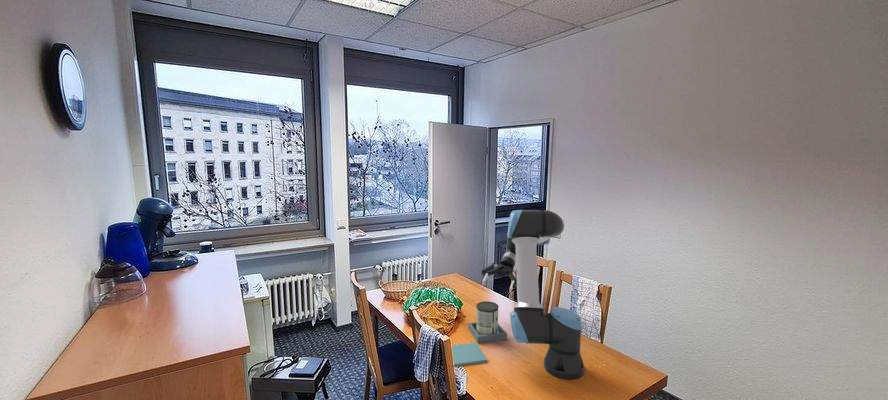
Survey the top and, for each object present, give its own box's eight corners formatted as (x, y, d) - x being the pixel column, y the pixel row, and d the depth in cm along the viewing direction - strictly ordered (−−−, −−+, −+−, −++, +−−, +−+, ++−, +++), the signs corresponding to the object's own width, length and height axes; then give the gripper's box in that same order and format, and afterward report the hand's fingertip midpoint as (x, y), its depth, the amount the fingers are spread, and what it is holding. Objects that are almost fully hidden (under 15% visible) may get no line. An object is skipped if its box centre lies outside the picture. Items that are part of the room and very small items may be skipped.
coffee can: (476, 328, 174) (476, 300, 172) (497, 329, 173) (497, 301, 171) (475, 338, 164) (476, 309, 162) (498, 340, 163) (499, 310, 161)
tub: (506, 339, 163) (506, 333, 163) (477, 343, 160) (477, 336, 160) (495, 325, 177) (495, 319, 176) (468, 328, 173) (468, 322, 173)
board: (487, 361, 145) (487, 359, 145) (454, 366, 142) (454, 364, 142) (476, 344, 159) (476, 342, 159) (445, 348, 155) (445, 346, 155)
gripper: (531, 273, 186) (521, 300, 168) (485, 262, 195) (471, 286, 178) (532, 262, 182) (522, 287, 165) (486, 251, 192) (472, 274, 175)
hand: (496, 287), depth 171 cm, fingers open, 13 cm apart
